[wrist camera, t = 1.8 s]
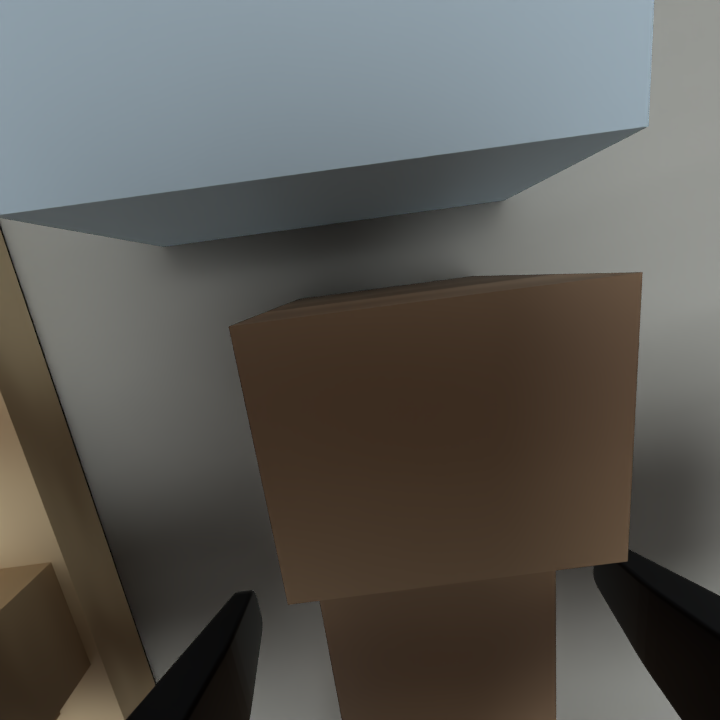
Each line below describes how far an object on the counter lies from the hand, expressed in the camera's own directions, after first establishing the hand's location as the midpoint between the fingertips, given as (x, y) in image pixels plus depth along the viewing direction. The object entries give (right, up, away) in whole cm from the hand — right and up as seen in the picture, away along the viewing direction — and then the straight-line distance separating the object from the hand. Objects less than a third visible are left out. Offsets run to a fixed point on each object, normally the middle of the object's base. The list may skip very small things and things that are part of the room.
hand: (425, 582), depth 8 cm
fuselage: (0, 0, +2) cm, 2 cm away
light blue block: (-2, +10, -1) cm, 10 cm away
